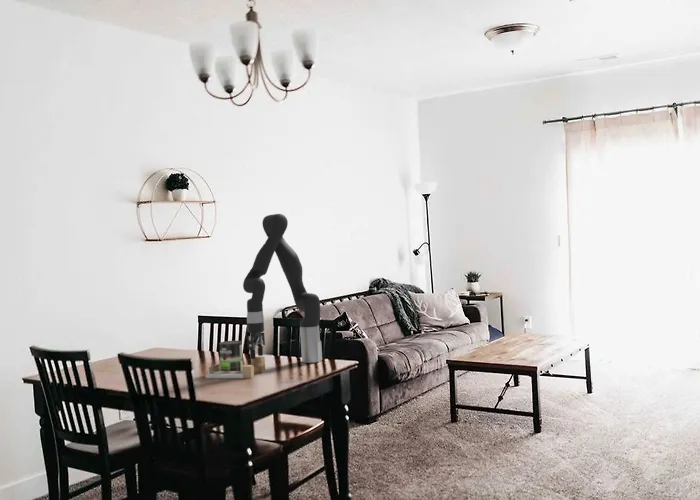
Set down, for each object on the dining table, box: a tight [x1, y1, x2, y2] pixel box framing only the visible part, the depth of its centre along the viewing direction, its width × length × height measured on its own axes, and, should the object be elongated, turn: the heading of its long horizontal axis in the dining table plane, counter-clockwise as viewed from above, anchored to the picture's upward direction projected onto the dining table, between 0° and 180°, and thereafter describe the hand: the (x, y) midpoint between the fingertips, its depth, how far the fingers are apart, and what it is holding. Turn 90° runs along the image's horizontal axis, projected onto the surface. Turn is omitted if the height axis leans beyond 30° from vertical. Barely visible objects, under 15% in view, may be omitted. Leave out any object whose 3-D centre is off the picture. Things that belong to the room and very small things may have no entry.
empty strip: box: [205, 364, 255, 379], centre depth 296 cm, size 22×4×5 cm, turn 75°
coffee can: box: [218, 340, 244, 371], centre depth 306 cm, size 10×10×14 cm
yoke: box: [208, 356, 266, 375], centre depth 305 cm, size 23×15×7 cm, turn 75°
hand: (256, 357), depth 303 cm, fingers open, 8 cm apart
